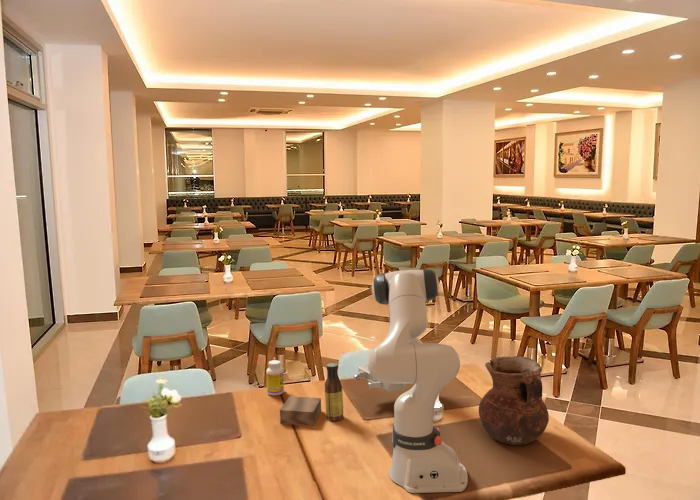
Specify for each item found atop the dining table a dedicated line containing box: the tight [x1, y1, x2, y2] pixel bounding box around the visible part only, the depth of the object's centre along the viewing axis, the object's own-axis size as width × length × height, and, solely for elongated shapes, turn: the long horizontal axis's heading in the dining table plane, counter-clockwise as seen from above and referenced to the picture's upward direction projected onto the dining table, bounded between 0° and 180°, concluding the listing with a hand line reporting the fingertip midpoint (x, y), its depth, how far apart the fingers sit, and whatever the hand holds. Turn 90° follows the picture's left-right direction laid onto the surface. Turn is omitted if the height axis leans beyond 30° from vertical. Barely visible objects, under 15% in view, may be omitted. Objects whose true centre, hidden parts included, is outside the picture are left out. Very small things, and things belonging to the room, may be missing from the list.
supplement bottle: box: [265, 359, 285, 396], centre depth 216 cm, size 7×7×13 cm
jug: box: [478, 355, 550, 447], centre depth 176 cm, size 22×21×25 cm
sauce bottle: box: [324, 362, 344, 422], centre depth 192 cm, size 7×6×20 cm
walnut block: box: [279, 395, 322, 427], centre depth 194 cm, size 12×12×5 cm
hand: (361, 381), depth 198 cm, fingers open, 8 cm apart
